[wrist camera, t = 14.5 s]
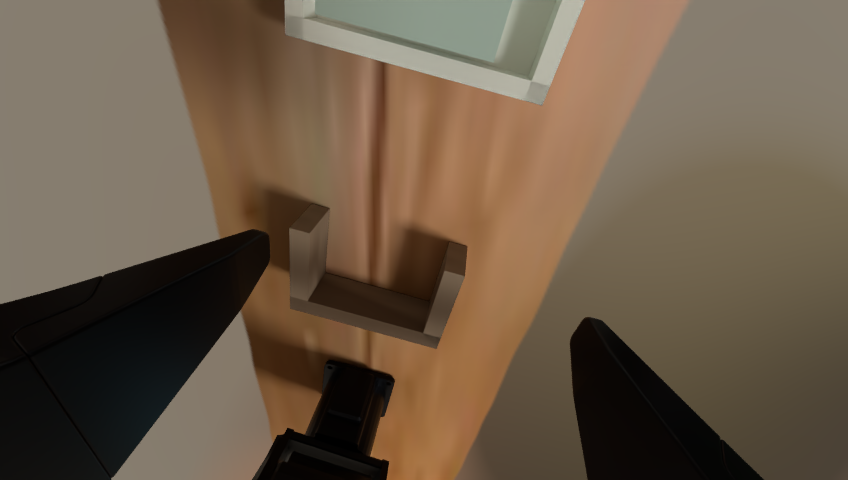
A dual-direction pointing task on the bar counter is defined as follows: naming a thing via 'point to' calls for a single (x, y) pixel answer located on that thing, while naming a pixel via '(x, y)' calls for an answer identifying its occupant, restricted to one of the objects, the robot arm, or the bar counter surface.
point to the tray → (509, 74)
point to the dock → (367, 288)
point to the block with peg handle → (429, 21)
